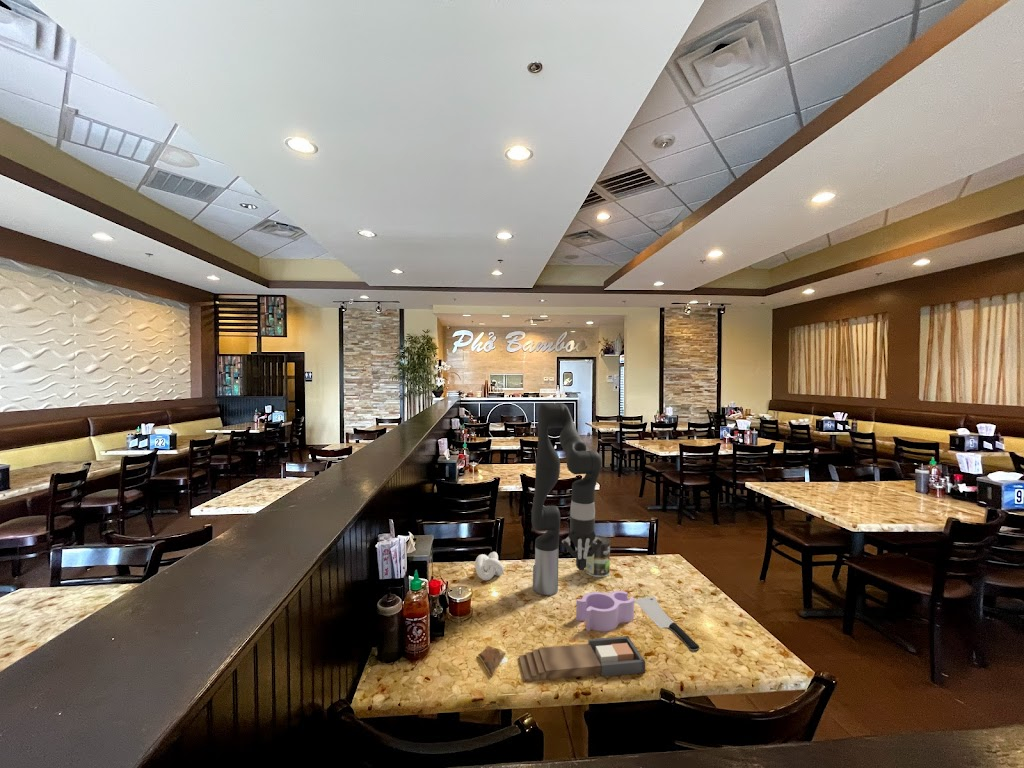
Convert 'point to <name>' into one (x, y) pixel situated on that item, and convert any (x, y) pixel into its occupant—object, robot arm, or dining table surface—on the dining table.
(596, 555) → the coffee can
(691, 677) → the dining table surface
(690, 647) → the kitchen cleaver
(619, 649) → the tile terracotta
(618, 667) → the box
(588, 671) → the board
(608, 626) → the purple double cup holder
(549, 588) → the robot arm
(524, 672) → the brown stairs
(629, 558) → the dining table surface
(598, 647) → the tile cream
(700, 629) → the dining table surface
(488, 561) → the white knot
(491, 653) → the shard
